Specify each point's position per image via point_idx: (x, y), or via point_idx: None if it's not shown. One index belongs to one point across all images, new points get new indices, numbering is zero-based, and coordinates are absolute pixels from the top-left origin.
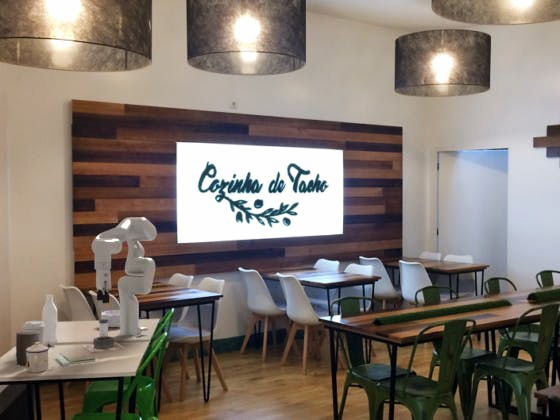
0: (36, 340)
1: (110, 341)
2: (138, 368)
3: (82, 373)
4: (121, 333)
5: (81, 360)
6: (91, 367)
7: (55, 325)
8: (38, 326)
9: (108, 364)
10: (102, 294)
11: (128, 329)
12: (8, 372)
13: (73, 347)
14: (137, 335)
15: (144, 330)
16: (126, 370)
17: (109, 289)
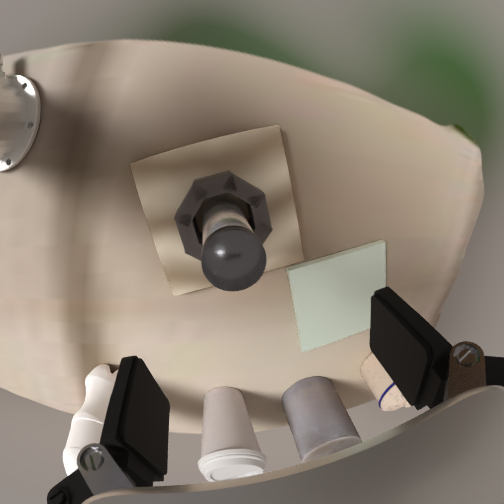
0: (348, 420)
1: (258, 190)
2: (469, 137)
3: (452, 267)
4: (9, 152)
5: (377, 282)
6: (425, 249)
7: (103, 414)
8: (263, 459)
9: (420, 204)
10: (134, 420)
11: (12, 119)
12: (367, 398)
13: (147, 319)
14: (32, 84)
15: (2, 64)
16: (472, 168)
17: (451, 407)
